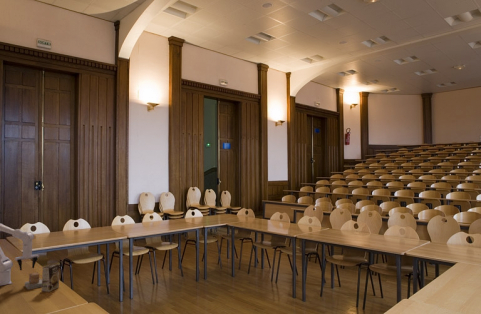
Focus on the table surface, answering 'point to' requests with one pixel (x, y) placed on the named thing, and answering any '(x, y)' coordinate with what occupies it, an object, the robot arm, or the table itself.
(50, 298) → the table surface
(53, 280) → the coffee box
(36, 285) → the grey box
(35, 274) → the walnut block
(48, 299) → the table surface
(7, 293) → the table surface
